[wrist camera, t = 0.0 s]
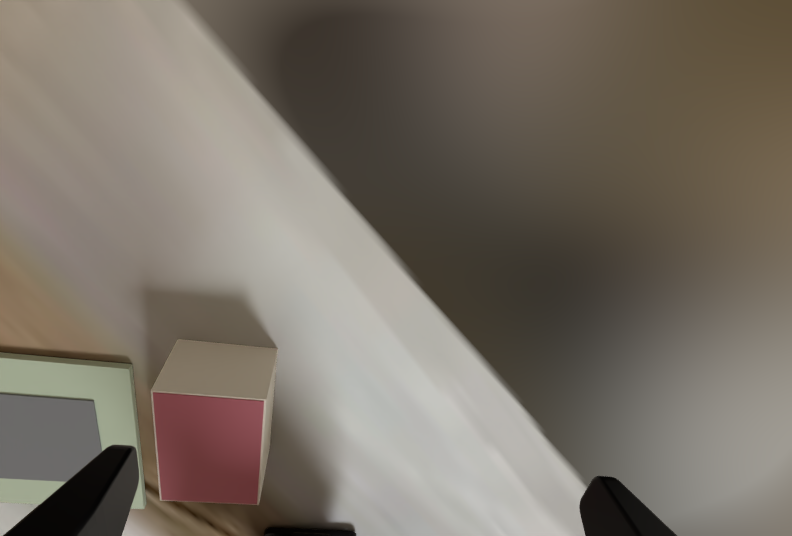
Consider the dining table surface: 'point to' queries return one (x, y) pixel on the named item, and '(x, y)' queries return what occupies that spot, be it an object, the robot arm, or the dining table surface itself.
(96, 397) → the mat
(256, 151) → the dining table surface
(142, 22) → the dining table surface
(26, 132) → the dining table surface
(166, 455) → the card box
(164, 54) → the dining table surface
